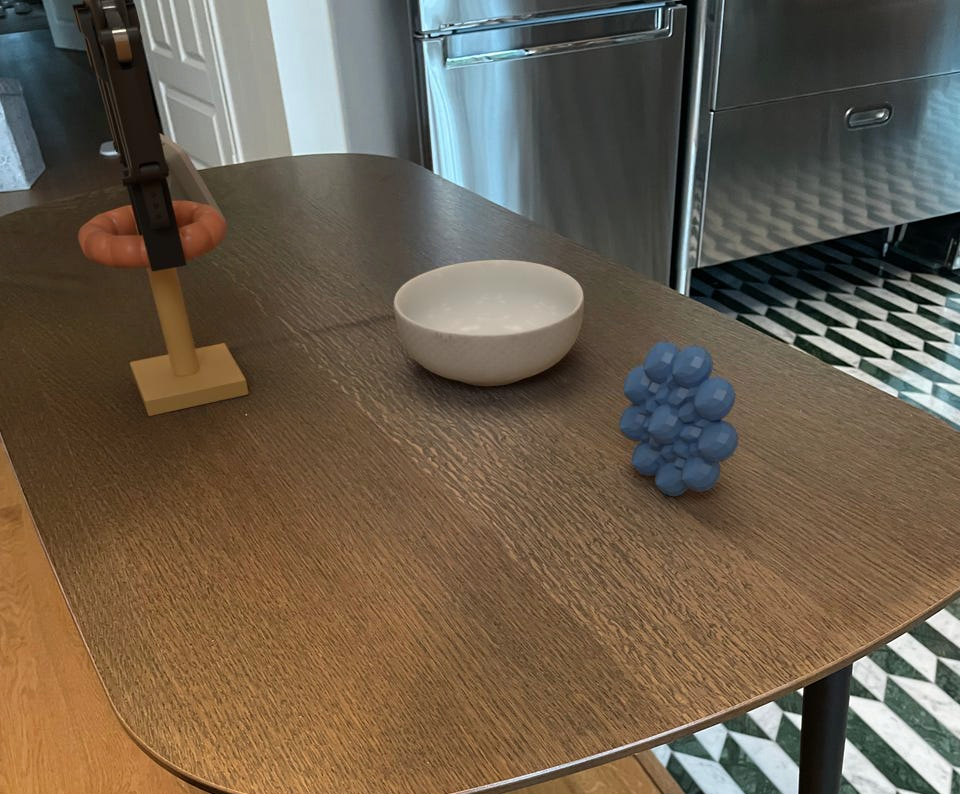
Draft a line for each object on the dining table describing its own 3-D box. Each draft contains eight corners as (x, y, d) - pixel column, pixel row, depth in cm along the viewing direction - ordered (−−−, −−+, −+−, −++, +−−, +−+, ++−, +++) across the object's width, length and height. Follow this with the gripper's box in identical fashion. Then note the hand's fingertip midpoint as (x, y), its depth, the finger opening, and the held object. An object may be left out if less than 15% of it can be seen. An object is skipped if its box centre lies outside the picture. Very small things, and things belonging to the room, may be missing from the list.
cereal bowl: (363, 373, 93) (353, 298, 88) (488, 317, 102) (485, 246, 97) (494, 430, 84) (491, 349, 79) (619, 363, 92) (623, 287, 88)
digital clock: (230, 237, 124) (212, 144, 118) (157, 248, 122) (134, 154, 115) (211, 201, 136) (193, 115, 129) (144, 211, 134) (122, 124, 127)
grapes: (767, 511, 73) (794, 354, 65) (694, 540, 70) (713, 381, 62) (666, 445, 80) (679, 298, 73) (597, 470, 78) (603, 320, 70)
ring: (76, 240, 87) (68, 211, 85) (211, 218, 90) (205, 189, 89) (93, 281, 78) (84, 250, 77) (241, 255, 82) (235, 224, 80)
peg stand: (133, 376, 94) (88, 217, 85) (227, 357, 97) (193, 200, 88) (148, 416, 88) (101, 249, 79) (249, 394, 91) (215, 229, 81)
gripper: (154, -100, 61) (232, 283, 76) (119, -110, 72) (192, 225, 88) (26, -90, 59) (132, 302, 74) (10, -102, 70) (105, 240, 85)
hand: (165, 259), depth 81 cm, fingers closed on ring, 3 cm apart
